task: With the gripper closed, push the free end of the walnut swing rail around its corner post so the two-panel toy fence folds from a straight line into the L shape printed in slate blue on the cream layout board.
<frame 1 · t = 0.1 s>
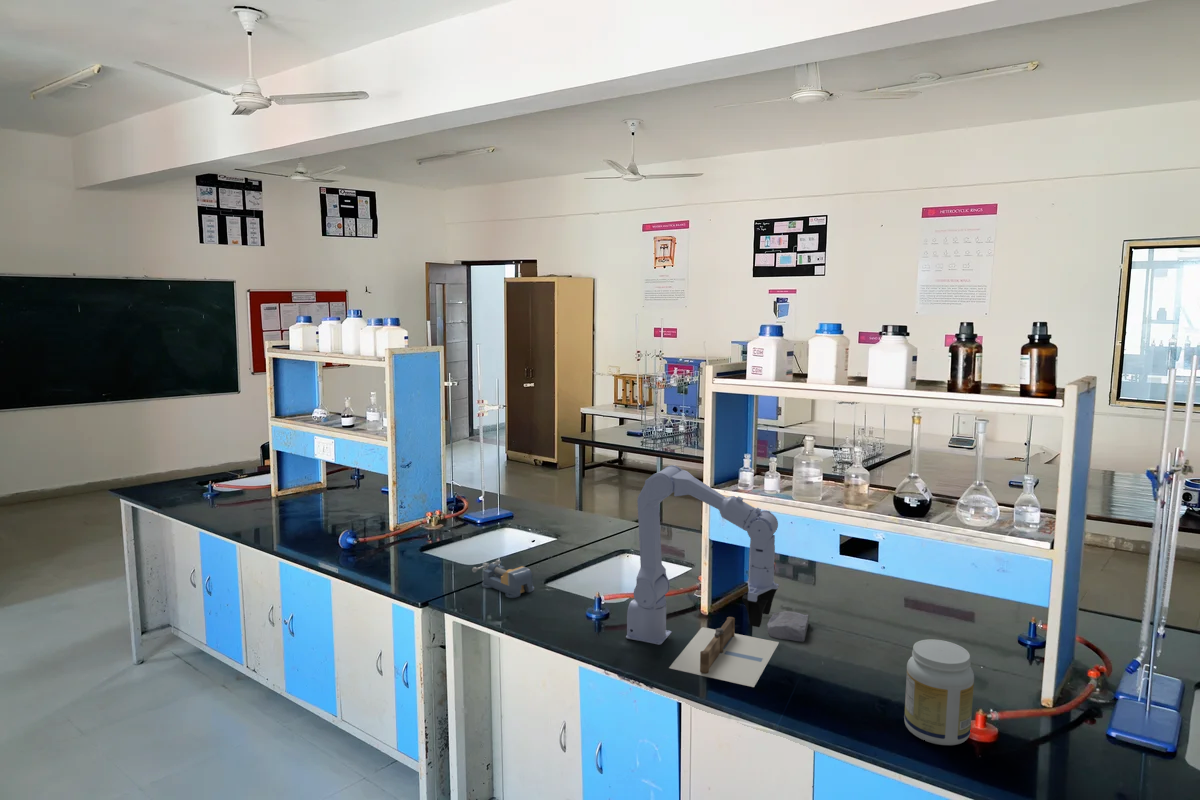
hand: (760, 619, 183), 10 cm above the counter, fingers open, 7 cm apart
supplement tub: (936, 731, 155), on the counter
vise: (504, 587, 230), on the counter
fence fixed: (719, 651, 188), resting on layout board
stone block: (787, 632, 199), on the counter
swing rail: (712, 650, 182), point 3 cm above the counter, hinge at -90.0°
layout board: (725, 656, 186), on the counter
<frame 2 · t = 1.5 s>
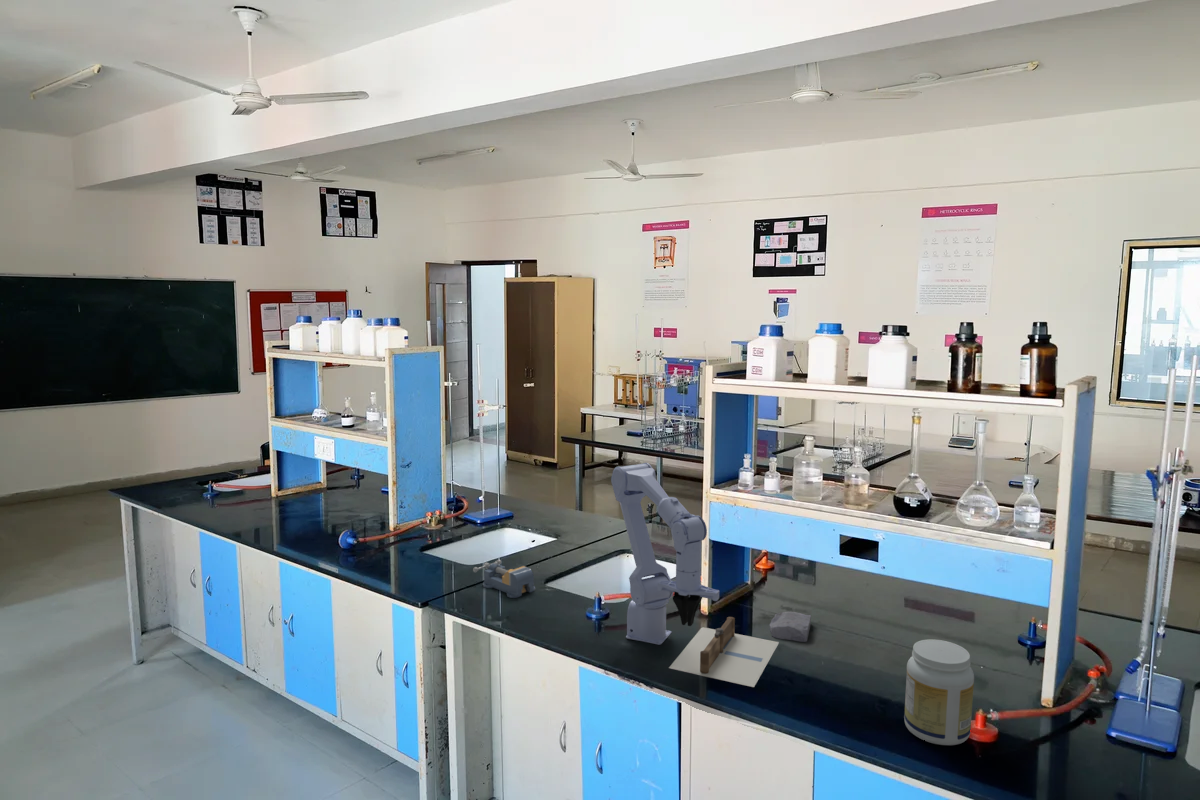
hand: (687, 623, 182), 9 cm above the counter, fingers closed
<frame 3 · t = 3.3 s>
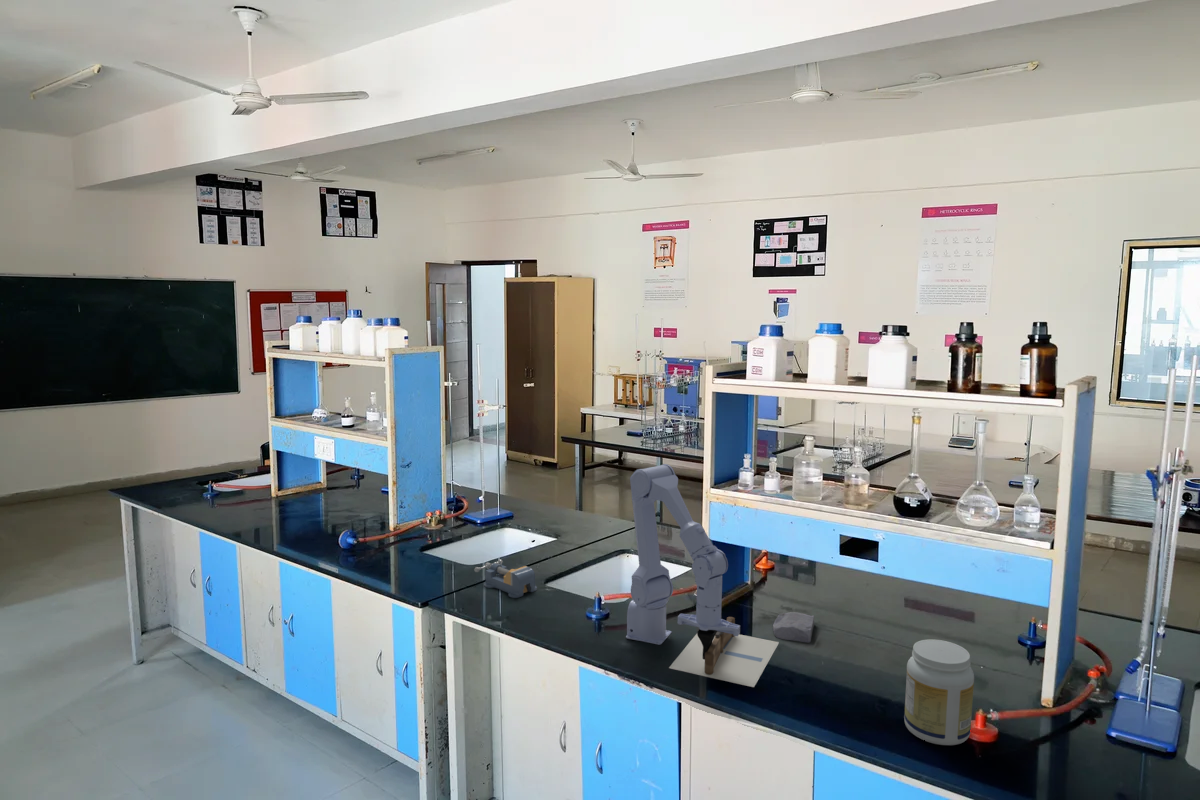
hand: (707, 658, 181), 2 cm above the counter, fingers closed, pressing on swing rail
swing rail: (714, 650, 182), point 3 cm above the counter, hinge at -84.4°, touching gripper
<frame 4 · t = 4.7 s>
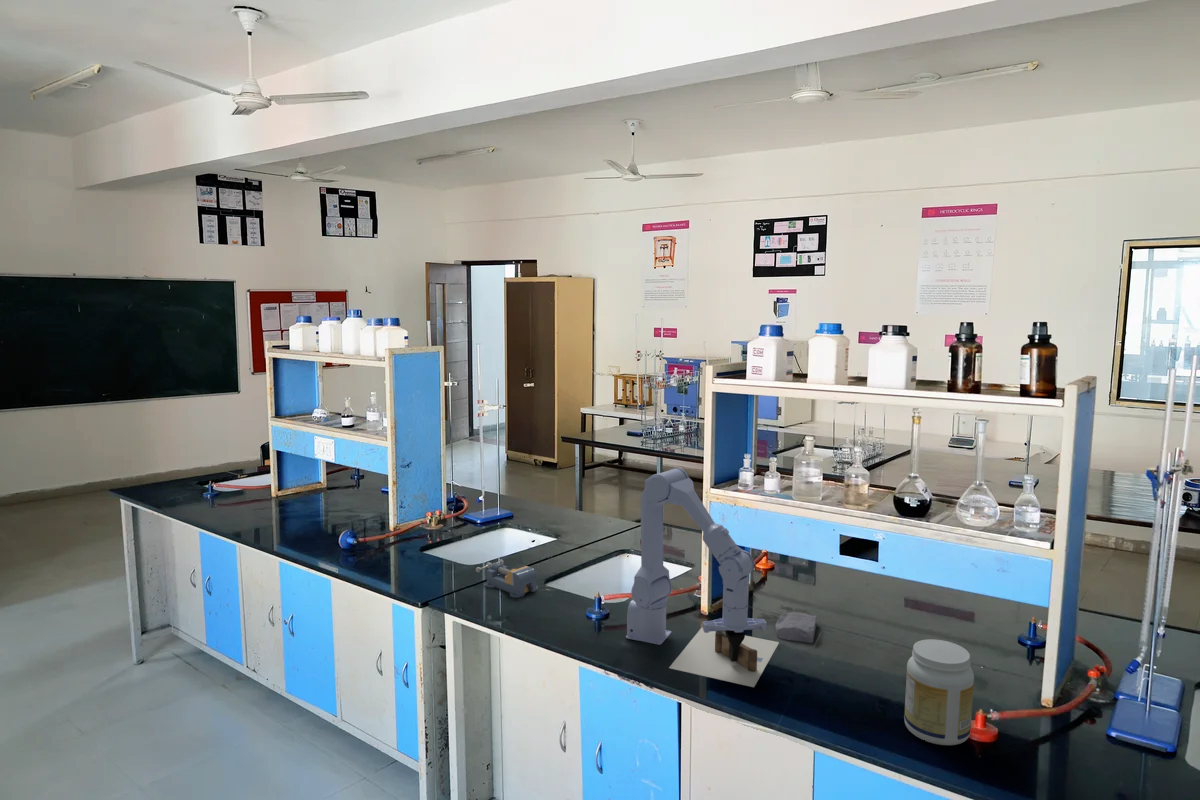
hand: (733, 659, 181), 2 cm above the counter, fingers closed, pressing on swing rail
swing rail: (735, 649, 183), point 3 cm above the counter, hinge at -30.1°, touching gripper
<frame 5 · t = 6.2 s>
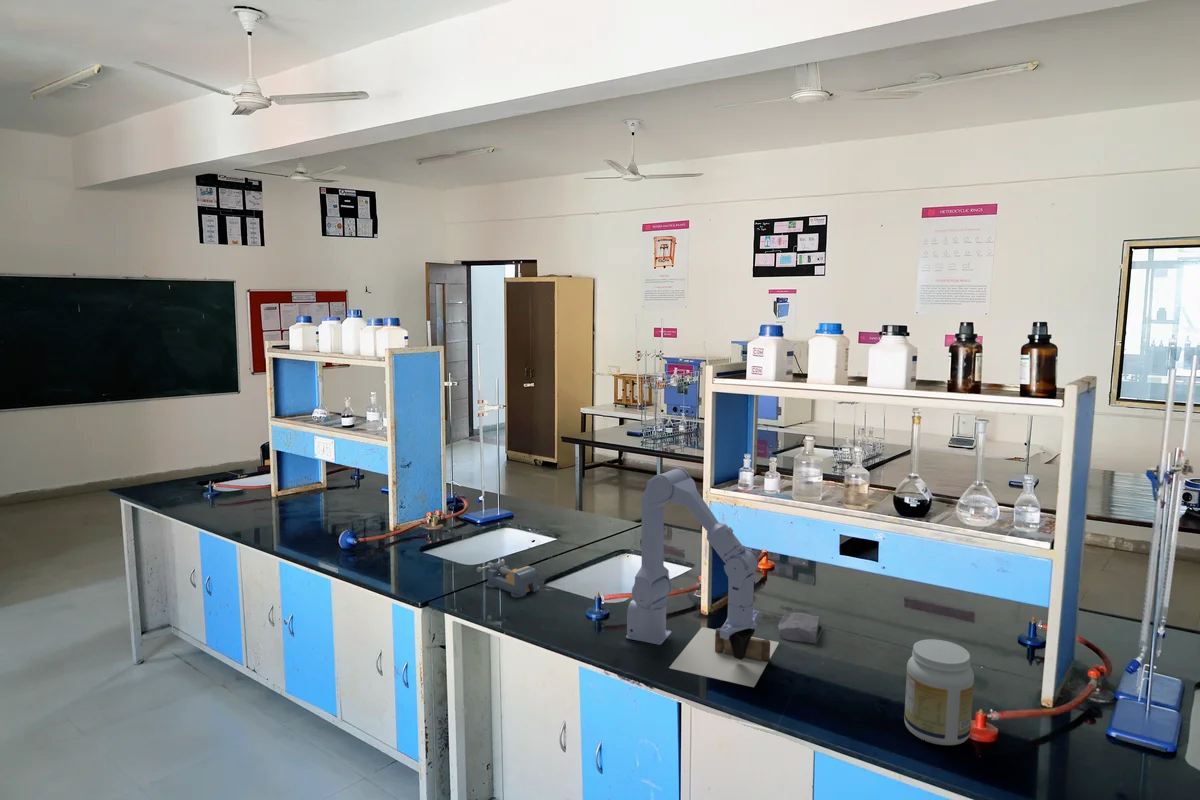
hand: (739, 657, 181), 2 cm above the counter, fingers closed
swing rail: (742, 644, 185), point 3 cm above the counter, hinge at 2.0°
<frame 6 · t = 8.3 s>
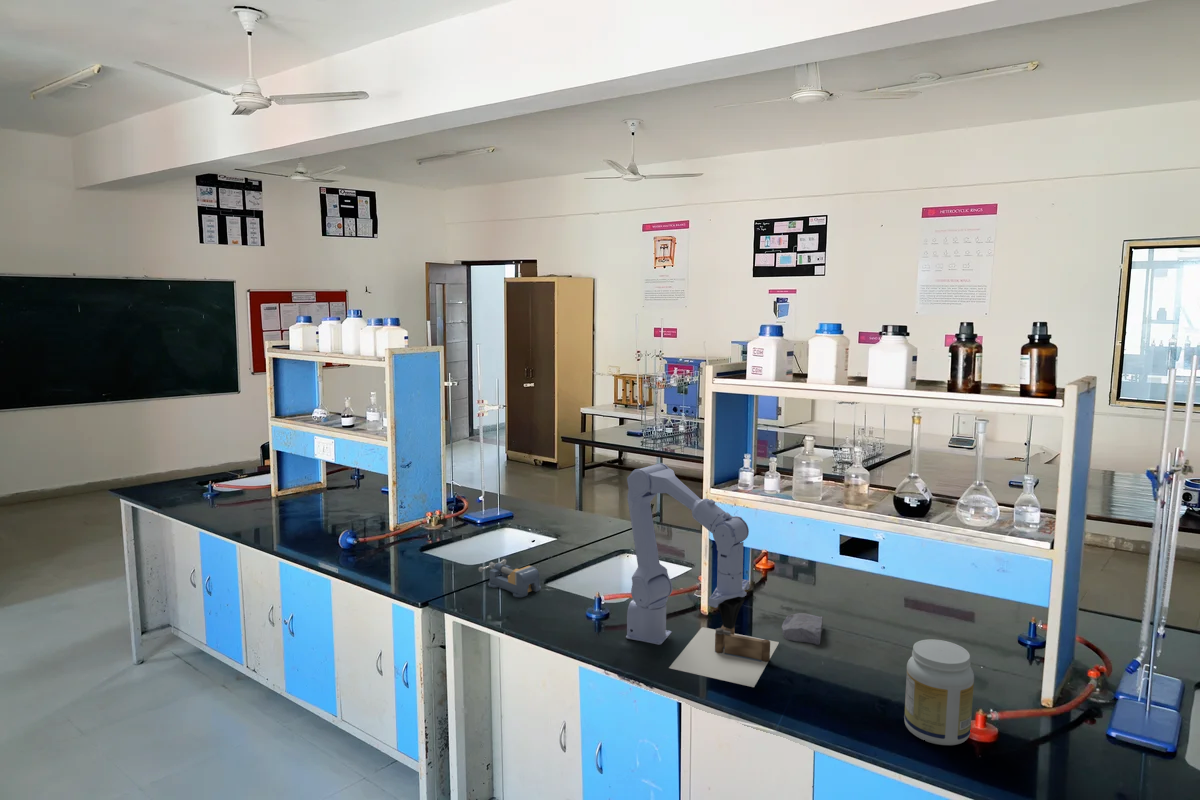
hand: (728, 627, 179), 10 cm above the counter, fingers closed
at the end: swing rail at +2° (first picture: -90°); the gripper is holding nothing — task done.
